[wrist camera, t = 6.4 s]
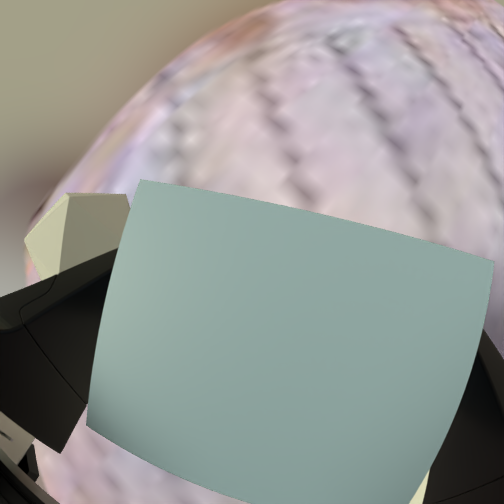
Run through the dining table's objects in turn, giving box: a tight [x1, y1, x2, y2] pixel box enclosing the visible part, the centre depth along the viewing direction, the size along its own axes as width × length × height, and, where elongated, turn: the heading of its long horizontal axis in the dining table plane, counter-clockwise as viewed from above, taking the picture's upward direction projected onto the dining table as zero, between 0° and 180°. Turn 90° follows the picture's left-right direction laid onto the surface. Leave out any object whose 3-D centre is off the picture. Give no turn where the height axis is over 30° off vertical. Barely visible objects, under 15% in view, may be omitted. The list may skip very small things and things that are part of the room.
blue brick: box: [86, 179, 494, 504], centre depth 9 cm, size 4×5×12 cm
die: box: [24, 193, 130, 281], centre depth 19 cm, size 8×9×10 cm
